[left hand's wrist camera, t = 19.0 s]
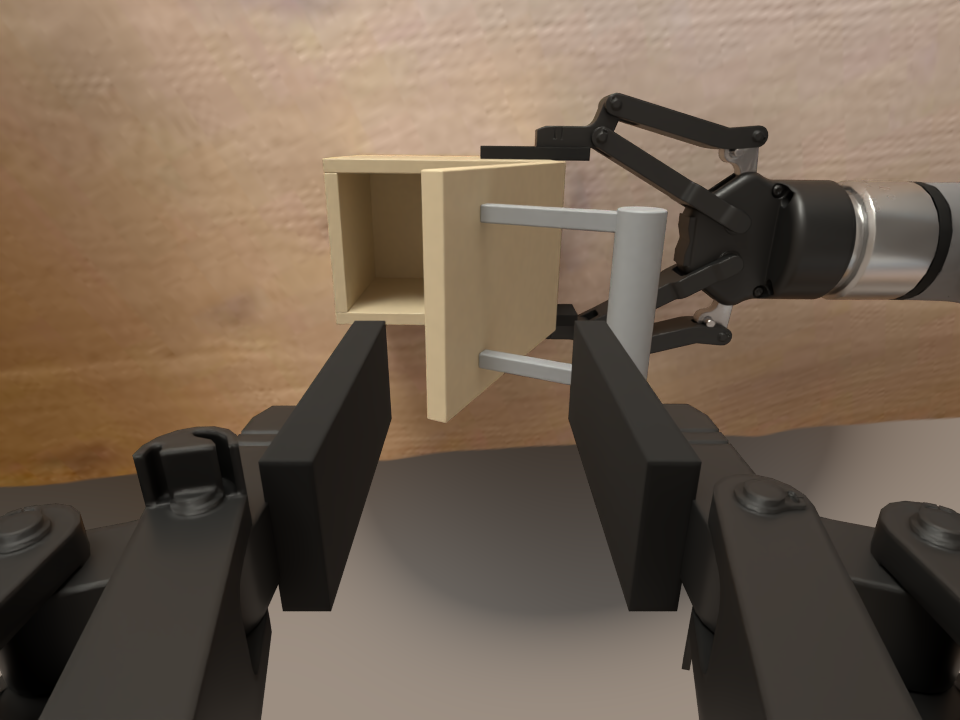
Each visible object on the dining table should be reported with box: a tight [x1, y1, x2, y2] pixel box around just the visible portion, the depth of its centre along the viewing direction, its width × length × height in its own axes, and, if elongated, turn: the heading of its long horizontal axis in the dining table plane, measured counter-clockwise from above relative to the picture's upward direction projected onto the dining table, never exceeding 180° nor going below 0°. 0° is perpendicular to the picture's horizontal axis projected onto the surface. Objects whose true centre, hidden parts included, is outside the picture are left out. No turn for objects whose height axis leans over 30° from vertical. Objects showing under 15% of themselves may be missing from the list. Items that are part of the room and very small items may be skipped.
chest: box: [323, 155, 554, 325], centre depth 38 cm, size 13×10×10 cm
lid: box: [421, 161, 668, 423], centre depth 25 cm, size 14×10×8 cm
